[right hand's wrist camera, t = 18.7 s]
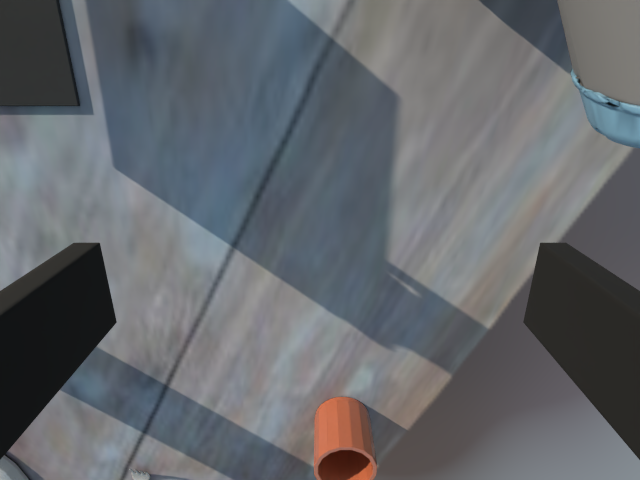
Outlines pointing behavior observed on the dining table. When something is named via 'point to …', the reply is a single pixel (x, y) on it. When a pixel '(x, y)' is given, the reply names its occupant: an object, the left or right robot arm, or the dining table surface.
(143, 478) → the fork
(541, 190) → the dining table surface
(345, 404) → the terracotta pot
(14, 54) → the dark rubber mat
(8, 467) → the wall clock
